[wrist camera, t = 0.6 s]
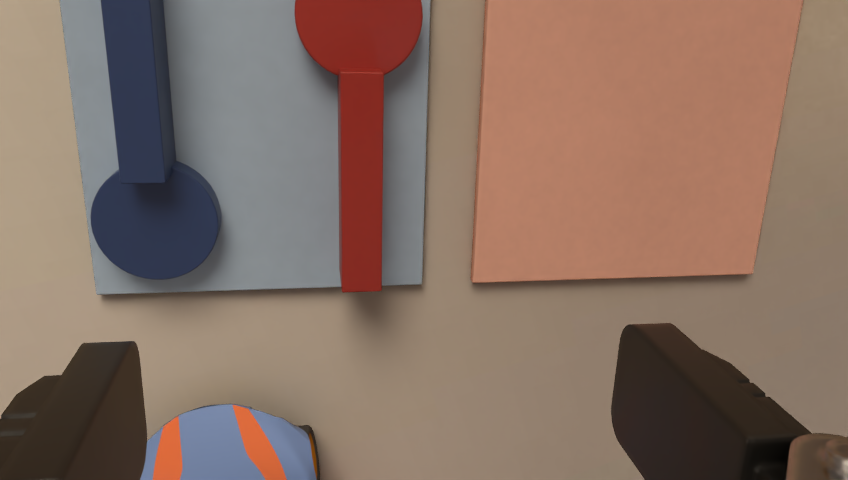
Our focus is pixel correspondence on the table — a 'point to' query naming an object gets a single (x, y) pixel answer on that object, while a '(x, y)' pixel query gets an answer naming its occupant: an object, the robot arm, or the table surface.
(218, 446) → the toy car
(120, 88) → the blue spoon
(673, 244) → the red mat
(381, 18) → the red spoon
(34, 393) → the robot arm
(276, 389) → the table surface
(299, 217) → the blue mat
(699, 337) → the table surface
